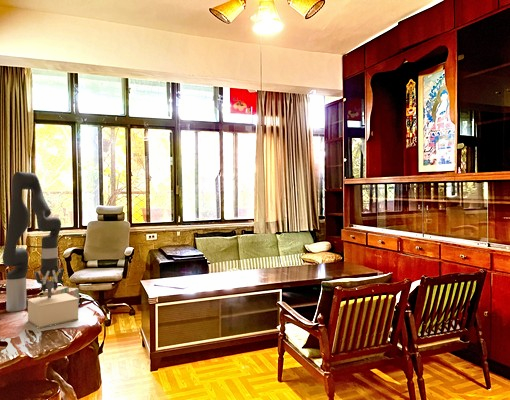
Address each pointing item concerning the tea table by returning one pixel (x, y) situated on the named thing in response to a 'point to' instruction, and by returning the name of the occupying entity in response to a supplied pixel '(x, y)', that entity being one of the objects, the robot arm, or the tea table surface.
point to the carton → (52, 313)
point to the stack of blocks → (63, 291)
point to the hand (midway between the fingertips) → (49, 290)
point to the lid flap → (52, 297)
